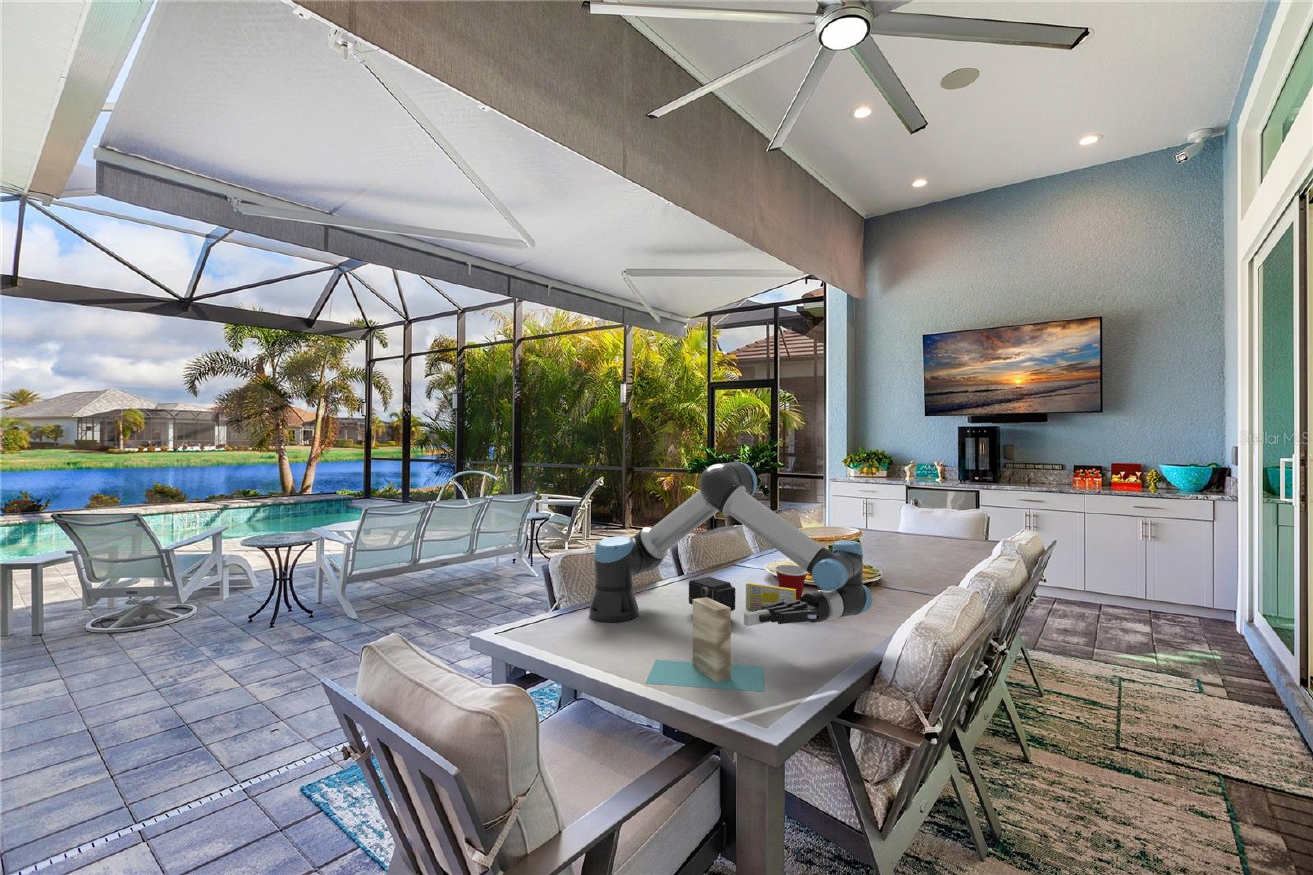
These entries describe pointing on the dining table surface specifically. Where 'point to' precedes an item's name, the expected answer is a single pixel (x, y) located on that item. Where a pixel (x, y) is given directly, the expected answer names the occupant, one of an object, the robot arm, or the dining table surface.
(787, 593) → the candy box
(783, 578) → the plastic cup
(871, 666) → the dining table surface
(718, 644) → the light brown rectangular block
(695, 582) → the camera
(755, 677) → the mat
